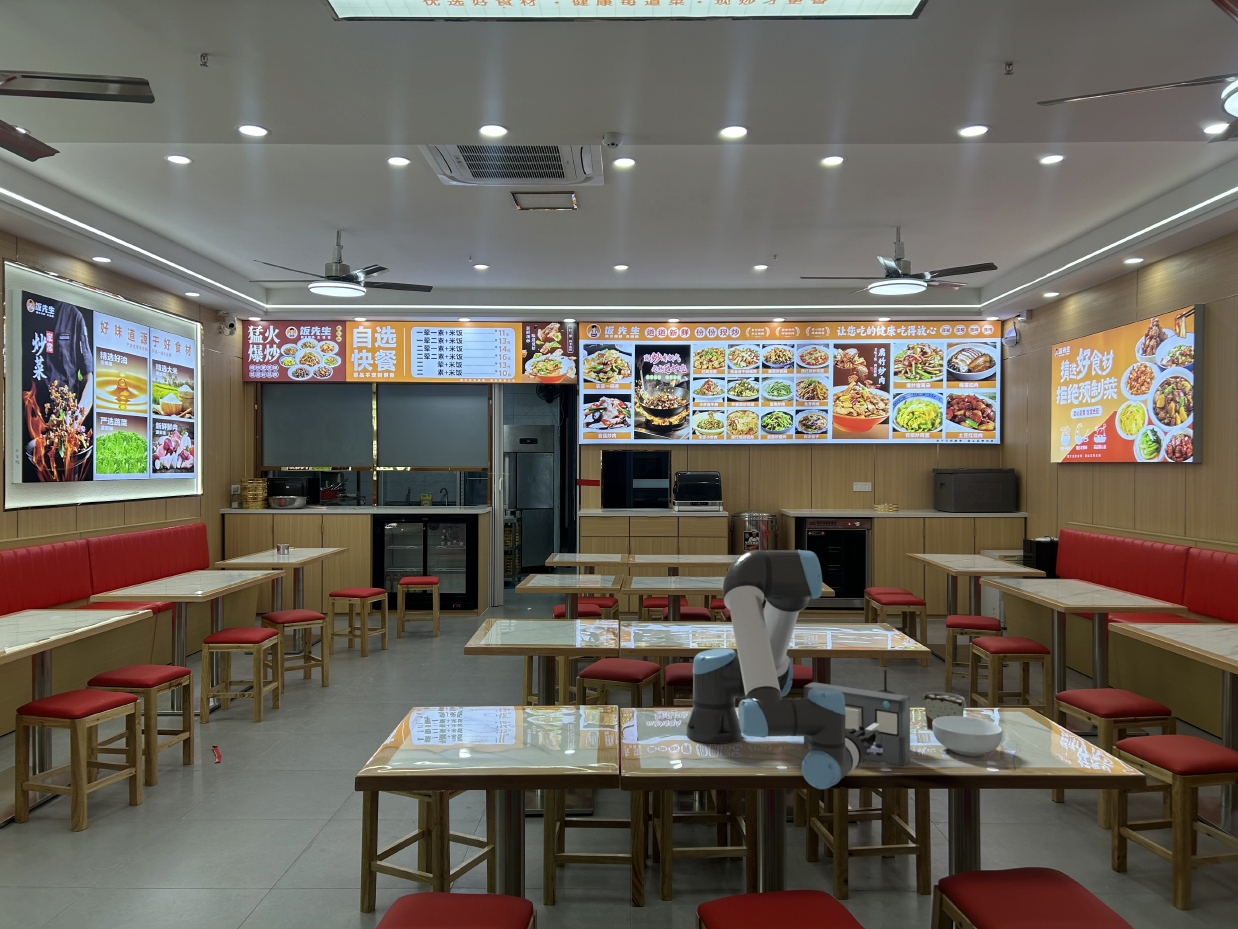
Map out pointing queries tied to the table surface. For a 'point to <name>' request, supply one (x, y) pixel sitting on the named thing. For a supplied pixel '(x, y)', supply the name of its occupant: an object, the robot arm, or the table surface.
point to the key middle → (853, 717)
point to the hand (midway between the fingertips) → (876, 729)
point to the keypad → (872, 701)
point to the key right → (888, 721)
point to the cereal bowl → (967, 734)
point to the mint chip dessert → (942, 706)
